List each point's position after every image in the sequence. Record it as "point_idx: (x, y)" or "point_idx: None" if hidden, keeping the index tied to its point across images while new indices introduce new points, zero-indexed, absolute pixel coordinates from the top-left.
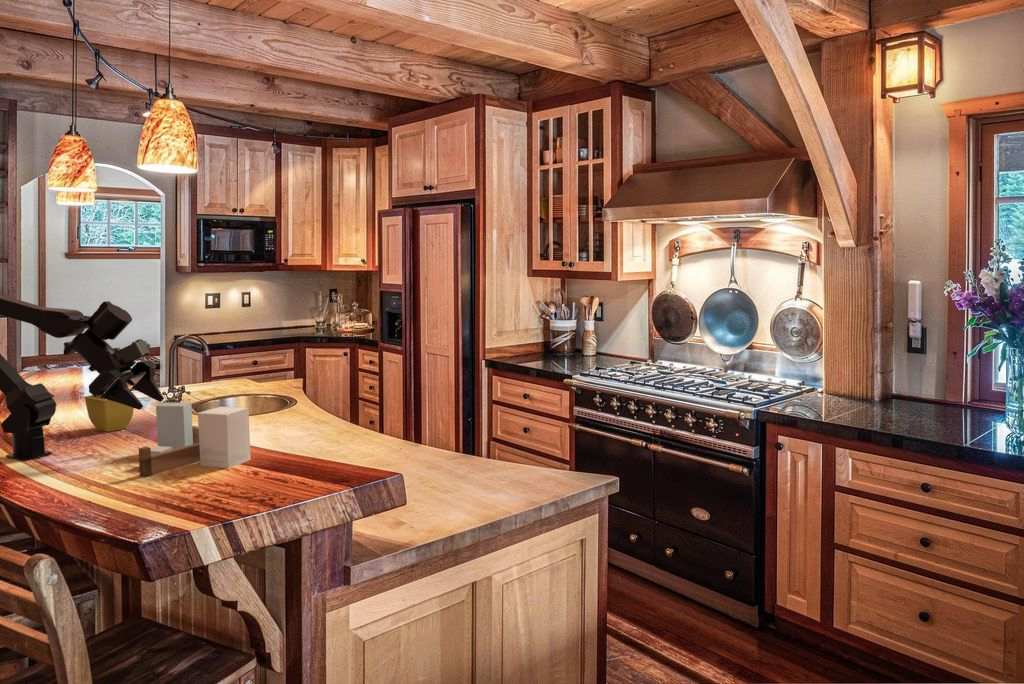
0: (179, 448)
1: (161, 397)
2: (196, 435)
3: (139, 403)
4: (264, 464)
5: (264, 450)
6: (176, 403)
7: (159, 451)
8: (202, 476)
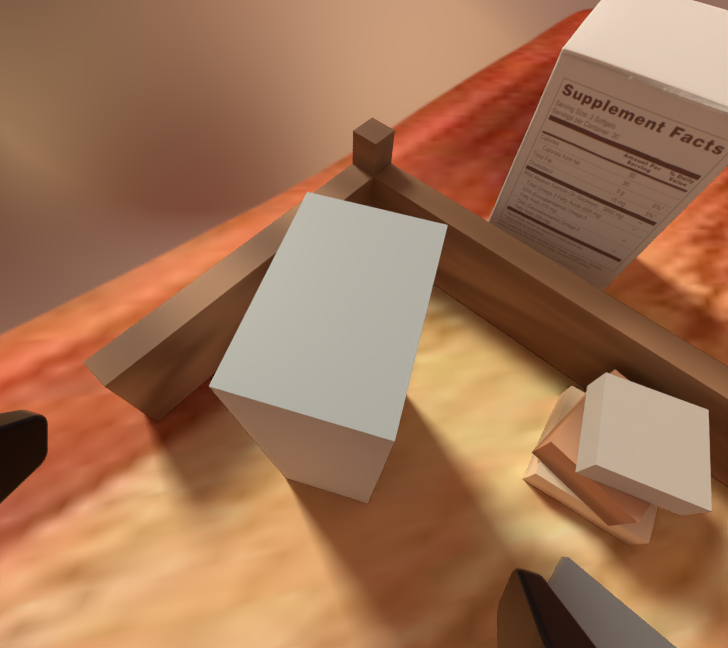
0: (642, 335)
1: (23, 429)
2: (208, 332)
3: (573, 620)
4: (496, 170)
5: (326, 171)
6: (302, 281)
7: (704, 416)
8: (631, 305)
